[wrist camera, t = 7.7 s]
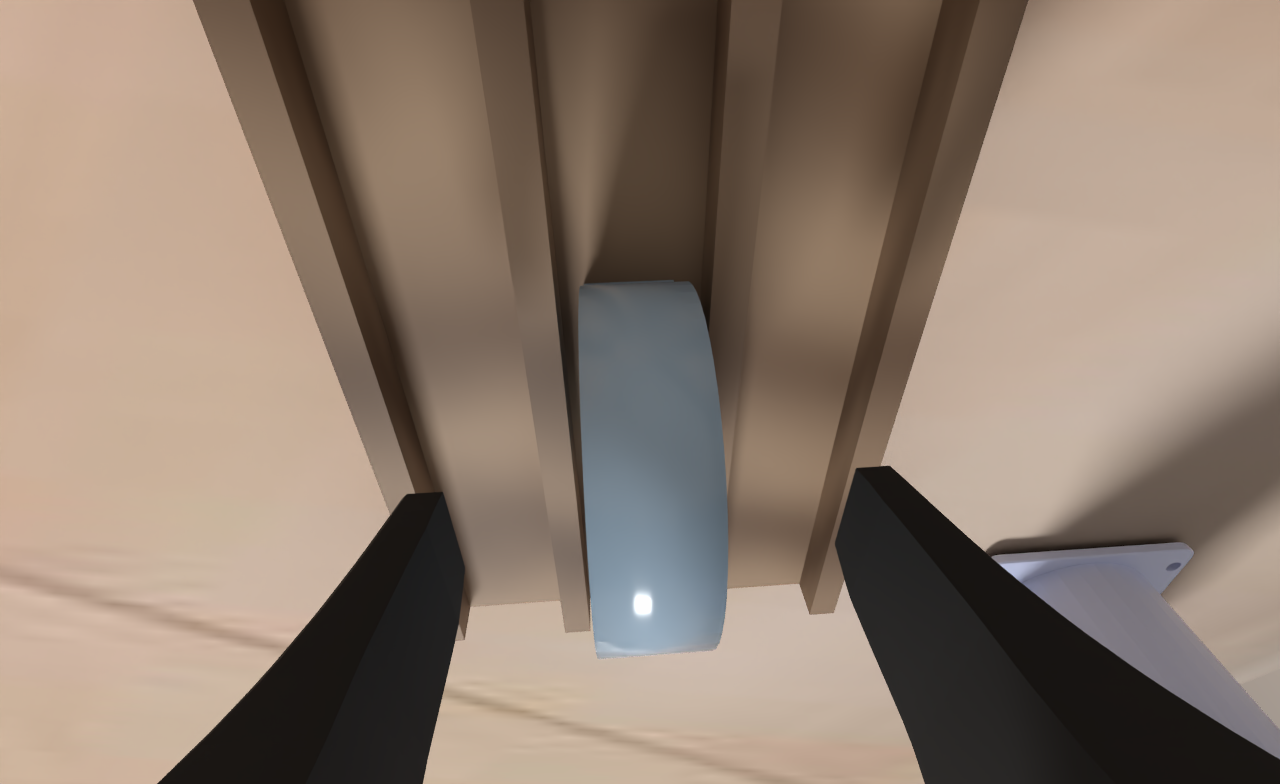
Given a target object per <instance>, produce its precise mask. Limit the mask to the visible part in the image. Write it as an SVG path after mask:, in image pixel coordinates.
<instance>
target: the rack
mask: <svg viewBox="0 0 1280 784" xmlns="http://www.w3.org/2000/svg"><path fill="white" fill-rule="evenodd" d="M193 2H194V4H195V7H196V10H197V12H198V15H199V17H200V20H201V23H202V25H203V28H204V31H205V33H206V36H207V38H208V41H209V44H210V46H211V49H212V51H213V54H214V57H215V59H216V62H217V64H218V67H219V70H220V72H221V75H222V77H223V80H224V83H225V85H226V88H227V90H228V93H229V96H230V98H231V101H232V104H233V106H234V109H235V111H236V114H237V117H238V119H239V122H240V124H241V127H242V130H243V132H244V135H245V137H246V140H247V143H248V145H249V148H250V150H251V153H252V156H253V158H254V161H255V164H256V166H257V169H258V171H259V174H260V177H261V179H262V182H263V184H264V187H265V190H266V192H267V195H268V197H269V200H270V203H271V205H272V208H273V210H274V213H275V216H276V218H277V221H278V223H279V226H280V229H281V231H282V234H283V237H284V239H285V242H286V244H287V247H288V250H289V252H290V255H291V257H292V260H293V263H294V265H295V268H296V270H297V273H298V276H299V278H300V281H301V283H302V286H303V289H304V291H305V294H306V296H307V299H308V302H309V304H310V307H311V310H312V312H313V315H314V317H315V320H316V323H317V325H318V328H319V330H320V333H321V336H322V338H323V341H324V343H325V346H326V349H327V351H328V354H329V356H330V359H331V362H332V364H333V367H334V370H335V372H336V375H337V377H338V380H339V383H340V385H341V388H342V390H343V393H344V396H345V398H346V401H347V403H348V406H349V409H350V411H351V414H352V416H353V419H354V422H355V424H356V427H357V429H358V432H359V435H360V437H361V440H362V443H363V445H364V448H365V450H366V453H367V456H368V458H369V461H370V463H371V466H372V469H373V471H374V474H375V476H376V479H377V482H378V484H379V487H380V489H381V492H382V495H383V497H384V500H385V502H386V505H387V508H388V510H389V513H390V515H391V513H392V512H393V511H394V509H395V508H396V506H397V505H398V504H399V502H400V501H401V499H402V498H403V497H404V496H405V495H406V494H414V493H431V492H443V493H444V497H445V500H446V504H447V507H448V510H449V514H450V517H451V521H452V524H453V528H454V531H455V534H456V538H457V541H458V545H459V548H460V551H461V555H462V558H463V562H464V565H465V574H464V584H463V593H462V602H461V610H460V619H459V626H458V630H457V635H456V639H455V641H459V640H465V634H466V628H467V623H468V617H469V611H470V607H475V606H489V605H503V604H517V603H531V602H545V601H561V607H562V614H563V620H564V627H565V633H568V632H581V631H590V598H591V597H590V584H589V570H588V555H587V539H586V522H585V504H584V485H583V464H582V441H581V415H580V385H579V339H578V307H579V289H580V286H583V285H584V284H586V283H610V282H633V281H657V280H674V282H678V281H689V282H690V283H691V284H692V285H693V286H694V288H695V290H696V292H697V294H698V297H699V300H700V302H701V305H702V309H703V313H704V316H705V320H706V324H707V329H708V333H709V338H710V343H711V349H712V354H713V360H714V366H715V373H716V380H717V387H718V395H719V403H720V412H721V421H722V432H723V443H724V454H725V470H726V485H727V509H728V581H727V589H729V588H743V587H757V586H771V585H785V584H800V587H801V590H802V593H803V596H804V599H805V602H806V605H807V608H808V611H809V614H810V615H812V614H825V613H834V610H835V607H836V604H837V601H838V598H839V595H840V591H841V588H842V585H843V582H844V576H843V573H842V569H841V565H840V562H839V558H838V554H837V551H836V547H835V540H836V537H837V533H838V530H839V526H840V523H841V519H842V515H843V512H844V508H845V505H846V501H847V498H848V494H849V491H850V487H851V484H852V480H853V476H854V473H855V469H856V468H862V467H879V466H880V465H881V462H882V459H883V456H884V453H885V450H886V447H887V443H888V440H889V437H890V434H891V431H892V428H893V424H894V421H895V418H896V415H897V412H898V409H899V406H900V402H901V399H902V396H903V393H904V390H905V387H906V384H907V380H908V377H909V374H910V371H911V368H912V365H913V362H914V358H915V355H916V352H917V349H918V346H919V343H920V339H921V336H922V333H923V330H924V327H925V324H926V321H927V317H928V314H929V311H930V308H931V305H932V302H933V299H934V295H935V292H936V289H937V286H938V283H939V280H940V276H941V273H942V270H943V267H944V264H945V261H946V258H947V254H948V251H949V248H950V245H951V242H952V239H953V236H954V232H955V229H956V226H957V223H958V220H959V217H960V213H961V210H962V207H963V204H964V201H965V198H966V195H967V191H968V188H969V185H970V182H971V179H972V176H973V173H974V169H975V166H976V163H977V160H978V157H979V154H980V150H981V147H982V144H983V141H984V138H985V135H986V132H987V128H988V125H989V122H990V119H991V116H992V113H993V110H994V106H995V103H996V100H997V97H998V94H999V91H1000V88H1001V84H1002V81H1003V78H1004V75H1005V72H1006V69H1007V65H1008V62H1009V59H1010V56H1011V53H1012V50H1013V47H1014V43H1015V40H1016V37H1017V34H1018V31H1019V28H1020V25H1021V21H1022V18H1023V15H1024V12H1025V9H1026V6H1027V2H1028V0H193Z"/></svg>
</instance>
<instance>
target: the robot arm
mask: <svg viewBox="0 0 1280 784" xmlns="http://www.w3.org/2000/svg"><path fill="white" fill-rule="evenodd" d="M835 547H836V551H837V554H838V558H839V562H840V565H841V569H842V573H843V576H844V579H845V582H846V586H847V589H848V592H849V596H850V598H851V601H852V603H853V606H854V608H855V611H856V613H857V615H858V618H859V620H860V623H861V625H862V627H863V630H864V632H865V634H866V637H867V639H868V641H869V644H870V646H871V648H872V651H873V653H874V655H875V658H876V660H877V662H878V665H879V667H880V669H881V672H882V674H883V676H884V679H885V681H886V683H887V685H888V688H889V690H890V692H891V695H892V697H893V699H894V702H895V704H896V706H897V709H898V711H899V713H900V716H901V718H902V720H903V723H904V725H905V728H906V731H907V733H908V736H909V738H910V741H911V743H912V746H913V749H914V752H915V755H916V758H917V761H918V764H919V767H920V770H921V773H922V776H923V779H924V782H925V784H1280V729H1279V728H1278V727H1277V726H1276V725H1275V724H1274V723H1273V721H1272V720H1271V719H1270V718H1269V717H1268V716H1267V715H1266V713H1265V712H1264V711H1263V710H1262V709H1261V708H1260V707H1259V706H1258V704H1257V703H1256V702H1255V701H1254V700H1253V699H1252V698H1251V697H1250V695H1249V694H1248V693H1247V692H1246V691H1245V690H1244V689H1243V688H1242V686H1241V685H1240V684H1239V683H1238V682H1237V681H1236V680H1235V678H1234V677H1233V676H1232V675H1231V674H1230V673H1229V672H1228V671H1227V669H1226V668H1225V667H1224V666H1223V665H1222V664H1221V663H1220V661H1219V660H1218V659H1217V658H1216V657H1215V656H1214V655H1213V654H1212V652H1211V651H1210V650H1209V649H1208V648H1207V647H1206V646H1205V645H1204V643H1203V642H1202V641H1201V640H1200V639H1199V638H1198V637H1197V635H1196V634H1195V633H1194V632H1193V631H1192V630H1191V629H1190V628H1189V626H1188V625H1187V624H1186V623H1185V622H1184V621H1183V620H1182V619H1181V617H1180V616H1179V615H1178V614H1177V613H1176V612H1175V611H1174V609H1173V608H1172V607H1171V606H1170V605H1169V604H1168V603H1167V602H1166V600H1165V599H1164V598H1163V597H1162V596H1161V595H1160V594H1161V593H1162V592H1163V591H1164V590H1165V589H1166V587H1167V586H1168V585H1169V584H1170V583H1171V581H1172V580H1173V579H1174V578H1175V577H1176V576H1177V574H1178V573H1179V572H1180V571H1181V570H1182V569H1183V567H1184V566H1185V565H1186V564H1187V563H1188V562H1189V560H1190V559H1191V558H1192V557H1193V555H1194V551H1193V550H1192V549H1191V548H1190V547H1189V546H1188V545H1187V544H1186V543H1182V542H1174V543H1160V544H1146V545H1131V546H1117V547H1102V548H1088V549H1074V550H1059V551H1045V552H1030V553H1016V554H1002V555H995V556H992V557H990V556H989V555H988V554H987V553H986V552H984V551H983V550H982V549H981V548H980V547H979V546H978V545H976V544H975V543H974V542H973V541H972V540H971V539H970V538H968V537H967V536H966V535H965V534H964V533H963V532H962V531H961V530H960V529H958V528H957V527H956V526H955V525H954V524H953V523H952V522H951V521H950V520H949V519H947V518H946V517H945V516H944V515H943V514H942V513H941V512H940V511H939V510H938V509H936V508H935V507H934V506H933V505H932V504H931V503H930V502H929V501H928V500H927V499H926V498H924V497H923V496H922V495H921V494H920V493H919V492H918V491H917V490H916V489H915V488H914V487H913V486H911V485H910V484H909V483H908V482H907V481H906V480H905V479H904V478H903V477H902V476H901V475H899V474H898V473H897V472H896V471H895V470H894V469H893V468H892V467H890V466H879V467H862V468H856V469H855V473H854V476H853V480H852V484H851V487H850V491H849V494H848V498H847V501H846V505H845V508H844V512H843V515H842V519H841V523H840V526H839V530H838V533H837V537H836V540H835ZM464 574H465V565H464V562H463V558H462V555H461V551H460V548H459V545H458V541H457V538H456V534H455V531H454V528H453V524H452V521H451V517H450V514H449V510H448V507H447V504H446V500H445V497H444V493H443V492H431V493H414V494H406V495H405V496H404V497H403V498H402V499H401V501H400V502H399V504H398V505H397V506H396V508H395V509H394V511H393V512H392V513H391V515H390V516H389V518H388V519H387V521H386V522H385V523H384V525H383V526H382V528H381V529H380V530H379V532H378V533H377V535H376V536H375V537H374V539H373V540H372V541H371V543H370V544H369V546H368V547H367V548H366V550H365V551H364V552H363V554H362V555H361V556H360V558H359V559H358V560H357V562H356V563H355V564H354V566H353V567H352V568H351V570H350V571H349V572H348V574H347V575H346V576H345V577H344V579H343V580H342V581H341V583H340V584H339V585H338V587H337V588H336V589H335V590H334V592H333V593H332V594H331V596H330V597H329V598H328V599H327V601H326V602H325V603H324V605H323V606H322V607H321V608H320V610H319V611H318V612H317V613H316V615H315V616H314V617H313V618H312V619H311V621H310V622H309V623H308V624H307V625H306V626H305V628H304V629H303V630H302V631H301V632H300V634H299V635H298V636H297V637H296V638H295V639H294V641H293V642H292V643H291V644H290V645H289V647H288V648H287V649H286V650H285V651H284V653H283V654H282V655H281V656H280V657H279V658H278V660H277V661H276V662H275V663H274V664H273V665H272V666H271V668H270V669H269V670H268V671H267V672H266V673H265V674H264V675H263V676H262V678H261V679H260V680H259V681H258V682H257V683H256V684H255V685H254V686H253V688H252V689H251V690H250V691H249V692H248V693H247V694H246V695H245V696H244V697H243V698H242V699H241V700H240V701H239V703H238V704H237V705H236V706H235V707H234V708H233V709H232V710H231V711H230V712H229V713H228V714H227V715H226V716H225V717H224V718H223V719H222V720H221V721H220V722H219V723H218V724H217V725H216V727H215V728H214V729H213V730H212V731H211V732H210V733H209V734H208V735H207V736H206V737H205V738H204V739H203V740H202V741H201V742H199V743H198V744H197V745H196V746H195V747H194V748H193V749H192V750H191V751H190V752H189V753H188V754H187V755H186V756H185V757H184V758H183V759H182V760H181V761H180V762H179V763H178V764H177V765H176V766H175V767H174V768H173V769H172V770H171V771H170V772H169V773H168V774H167V775H166V776H165V777H164V778H163V779H162V780H161V781H160V782H158V783H157V784H423V780H424V775H425V770H426V764H427V759H428V755H429V751H430V746H431V742H432V738H433V734H434V729H435V725H436V721H437V717H438V712H439V708H440V704H441V700H442V695H443V691H444V687H445V683H446V678H447V674H448V670H449V665H450V661H451V657H452V652H453V648H454V644H455V639H456V635H457V630H458V626H459V619H460V610H461V602H462V593H463V584H464Z"/></svg>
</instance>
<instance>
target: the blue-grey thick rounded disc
mask: <svg viewBox="0 0 1280 784" xmlns="http://www.w3.org/2000/svg"><path fill="white" fill-rule="evenodd" d="M578 339H579V385H580V415H581V441H582V464H583V485H584V504H585V522H586V539H587V555H588V570H589V584H590V597H591V610H592V621H593V631H594V640H595V648H596V654H597V658H598V659H611V658H625V657H638V656H651V655H664V654H677V653H690V652H704V651H713V650H715V649H716V648H717V646H718V644H719V642H720V638H721V635H722V630H723V624H724V619H725V609H726V599H727V581H728V509H727V485H726V470H725V454H724V443H723V432H722V421H721V412H720V403H719V395H718V387H717V380H716V373H715V366H714V360H713V354H712V349H711V343H710V338H709V333H708V329H707V324H706V320H705V316H704V313H703V309H702V305H701V302H700V300H699V297H698V294H697V292H696V290H695V288H694V286H693V285H692V284H691V283H690V282H689V281H678V282H674V280H657V281H633V282H610V283H586V284H584V285H583V286H580V289H579V307H578Z"/></svg>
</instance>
